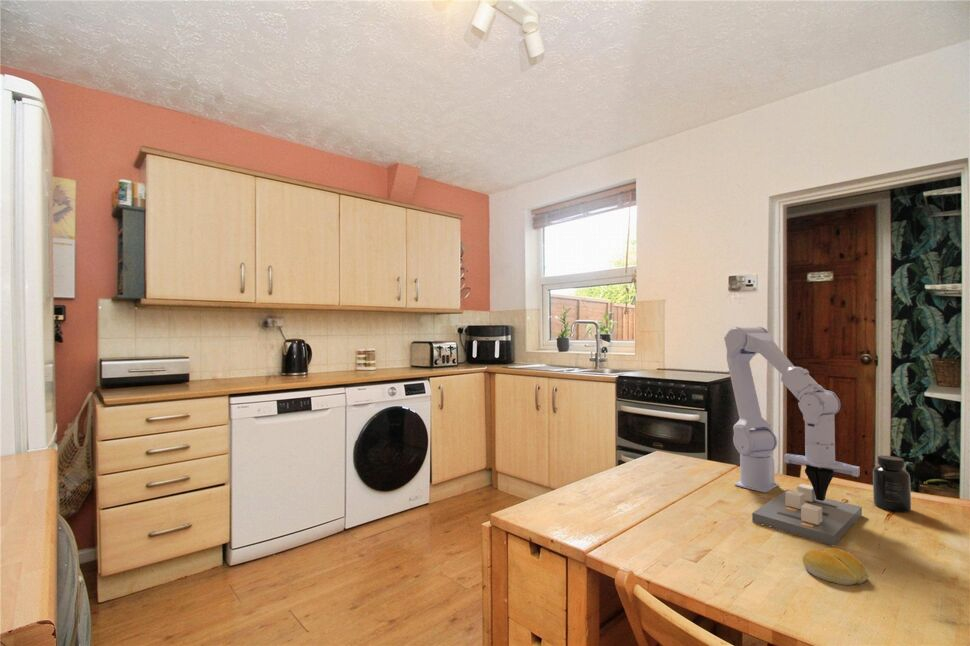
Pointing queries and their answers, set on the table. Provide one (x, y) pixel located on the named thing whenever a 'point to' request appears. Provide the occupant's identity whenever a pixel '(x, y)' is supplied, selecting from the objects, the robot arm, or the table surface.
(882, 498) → the supplement bottle
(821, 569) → the bread roll
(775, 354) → the robot arm
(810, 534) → the switch panel
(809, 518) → the block
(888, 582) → the table surface
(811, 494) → the block
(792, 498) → the slider middle
